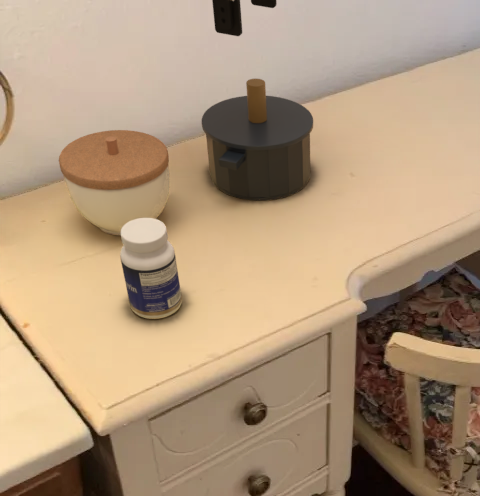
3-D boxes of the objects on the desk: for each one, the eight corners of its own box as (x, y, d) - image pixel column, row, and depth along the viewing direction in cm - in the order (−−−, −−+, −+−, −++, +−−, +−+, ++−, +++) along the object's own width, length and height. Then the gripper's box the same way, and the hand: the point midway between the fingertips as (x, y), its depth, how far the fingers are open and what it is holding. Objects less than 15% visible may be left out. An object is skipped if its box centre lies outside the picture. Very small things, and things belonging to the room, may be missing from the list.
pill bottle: (125, 295, 95) (110, 219, 88) (176, 285, 96) (164, 210, 90) (136, 325, 91) (120, 248, 84) (188, 314, 93) (177, 238, 86)
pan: (184, 198, 110) (177, 145, 105) (244, 135, 123) (241, 86, 118) (279, 219, 108) (277, 166, 102) (330, 153, 121) (331, 103, 116)
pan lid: (182, 141, 107) (176, 94, 103) (231, 96, 117) (228, 51, 113) (288, 163, 104) (286, 116, 100) (329, 115, 114) (329, 70, 110)
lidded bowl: (185, 197, 110) (175, 117, 103) (165, 251, 101) (152, 168, 94) (90, 191, 110) (73, 111, 102) (60, 244, 101) (39, 161, 93)
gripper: (238, -168, 94) (248, -9, 106) (162, -136, 82) (184, 40, 94) (300, -161, 93) (303, 0, 105) (232, -127, 81) (244, 51, 93)
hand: (247, 19), depth 99 cm, fingers open, 9 cm apart
